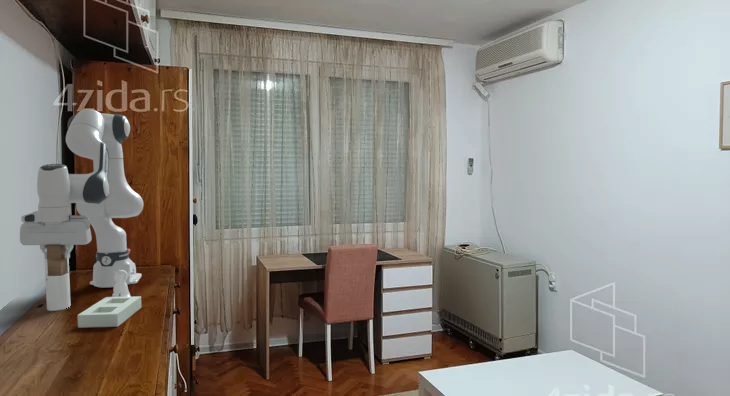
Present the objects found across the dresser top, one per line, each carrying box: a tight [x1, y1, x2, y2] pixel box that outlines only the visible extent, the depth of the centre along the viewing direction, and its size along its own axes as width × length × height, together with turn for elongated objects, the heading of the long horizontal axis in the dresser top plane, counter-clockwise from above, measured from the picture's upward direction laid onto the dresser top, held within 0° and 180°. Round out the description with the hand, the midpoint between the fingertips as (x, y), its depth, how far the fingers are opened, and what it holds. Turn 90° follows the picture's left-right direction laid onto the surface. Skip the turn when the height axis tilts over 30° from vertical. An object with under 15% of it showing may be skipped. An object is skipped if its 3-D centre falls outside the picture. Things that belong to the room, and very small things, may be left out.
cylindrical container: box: [44, 258, 72, 312], centre depth 171 cm, size 7×7×25 cm
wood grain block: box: [46, 244, 68, 276], centre depth 154 cm, size 4×4×10 cm
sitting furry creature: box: [111, 270, 132, 297], centre depth 178 cm, size 10×9×12 cm
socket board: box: [77, 295, 142, 329], centre depth 162 cm, size 20×12×4 cm, turn 5°
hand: (57, 258), depth 154 cm, fingers closed on wood grain block, 4 cm apart
